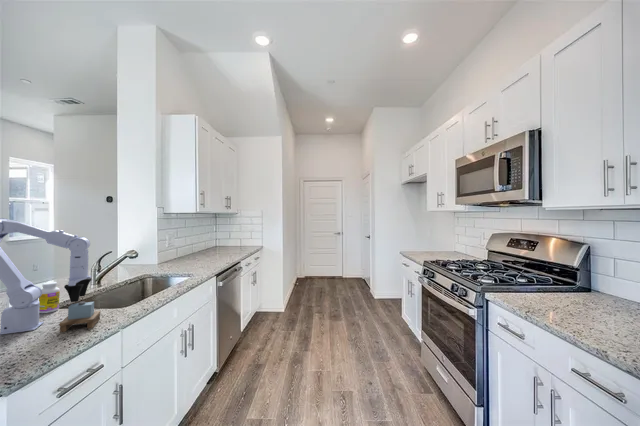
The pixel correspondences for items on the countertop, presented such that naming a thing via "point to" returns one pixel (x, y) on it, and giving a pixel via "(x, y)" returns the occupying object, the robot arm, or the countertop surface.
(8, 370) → the countertop surface
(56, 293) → the supplement bottle
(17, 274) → the robot arm
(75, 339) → the countertop surface
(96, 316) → the stand
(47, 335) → the countertop surface
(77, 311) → the housing
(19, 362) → the countertop surface
